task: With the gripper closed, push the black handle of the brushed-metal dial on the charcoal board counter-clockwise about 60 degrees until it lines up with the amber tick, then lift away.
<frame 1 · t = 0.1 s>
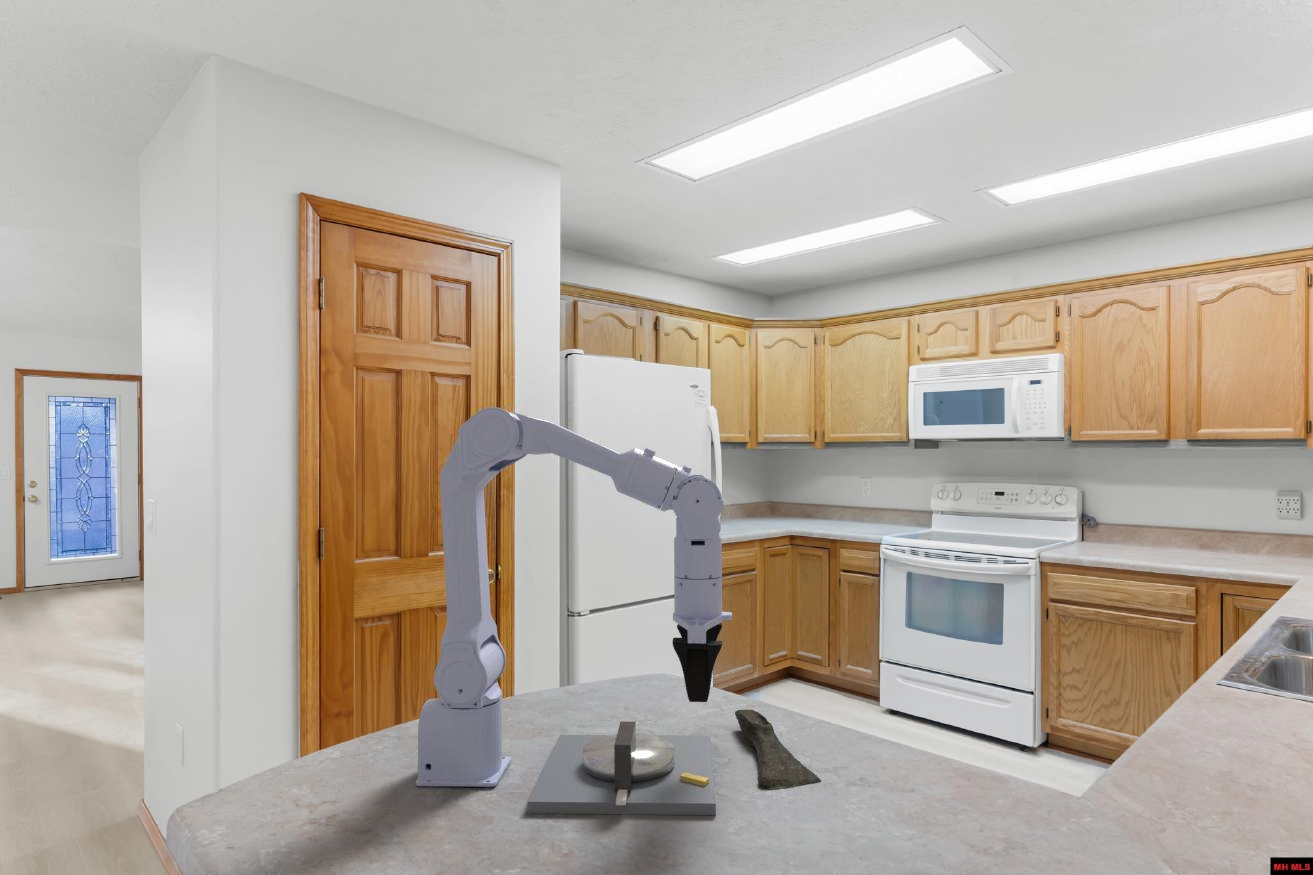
hand: (699, 691, 89), 10 cm above the worktop, fingers open, 7 cm apart
dial: (627, 745, 88), point 4 cm above the worktop, hinge at 0.0°, touching board
board: (628, 775, 89), on the worktop
tool: (774, 758, 95), on the worktop
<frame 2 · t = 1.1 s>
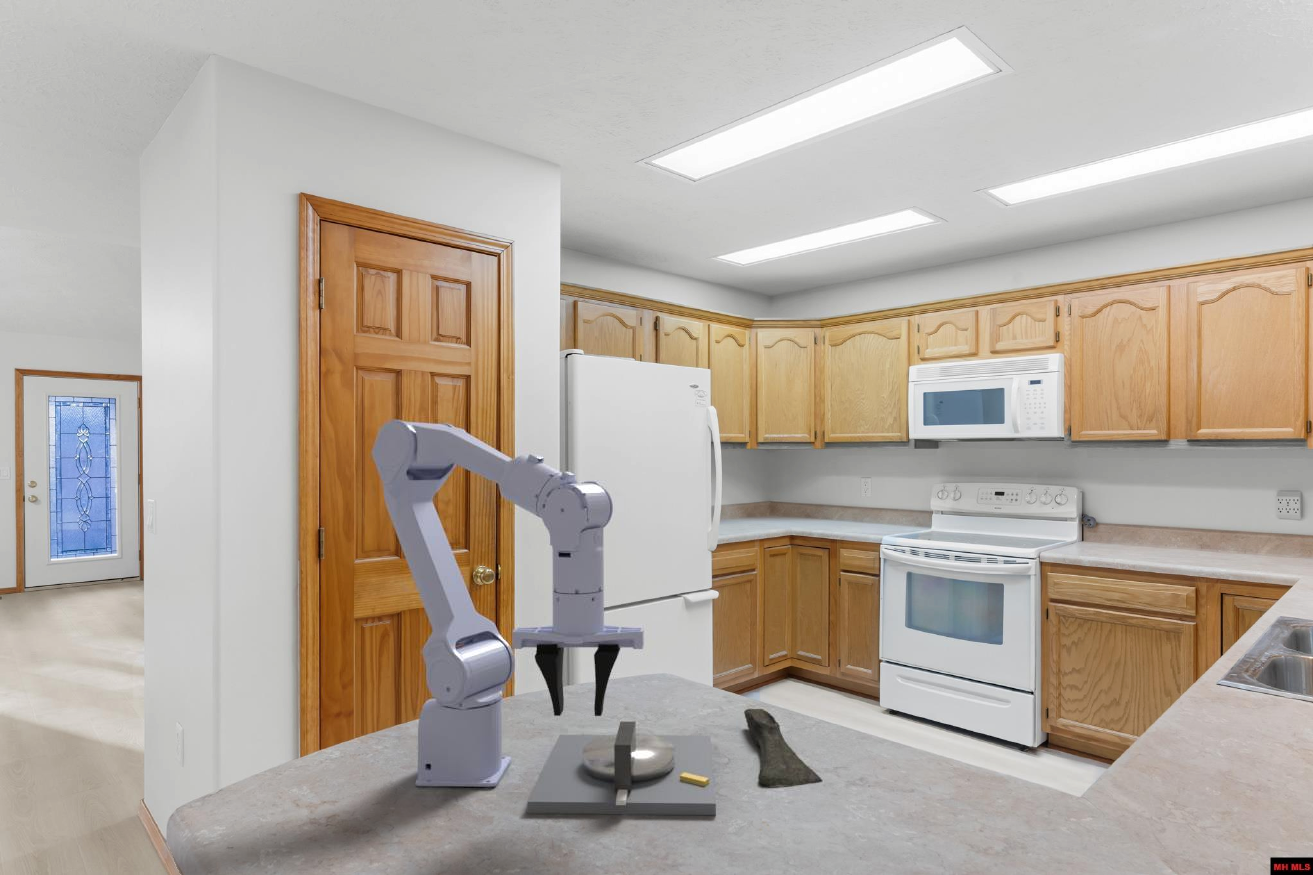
hand: (578, 713, 83), 9 cm above the worktop, fingers open, 4 cm apart
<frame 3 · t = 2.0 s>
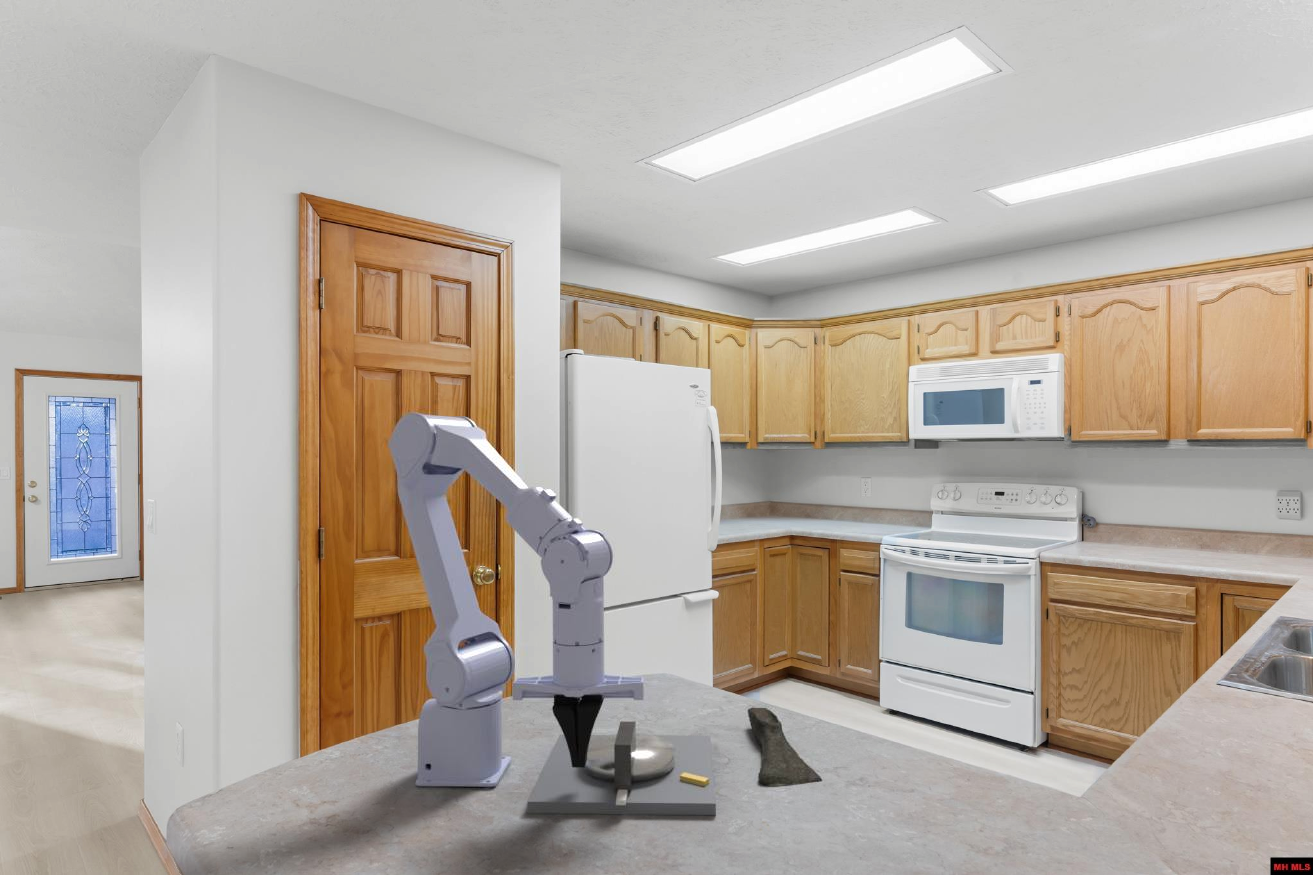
hand: (579, 763, 83), 4 cm above the worktop, fingers closed
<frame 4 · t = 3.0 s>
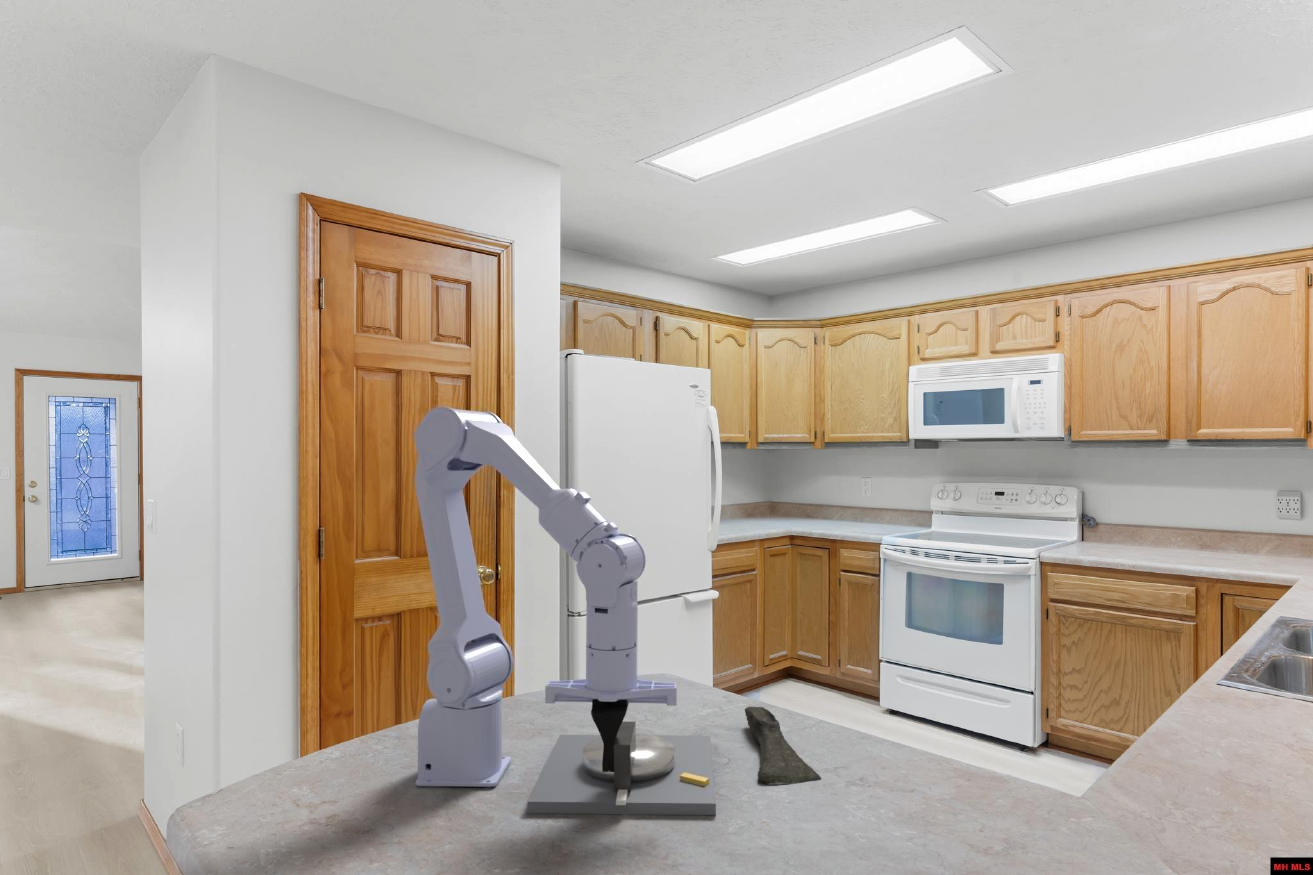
hand: (611, 768, 83), 3 cm above the worktop, fingers closed, pressing on dial
dial: (627, 745, 88), point 4 cm above the worktop, hinge at -0.3°, touching board, gripper
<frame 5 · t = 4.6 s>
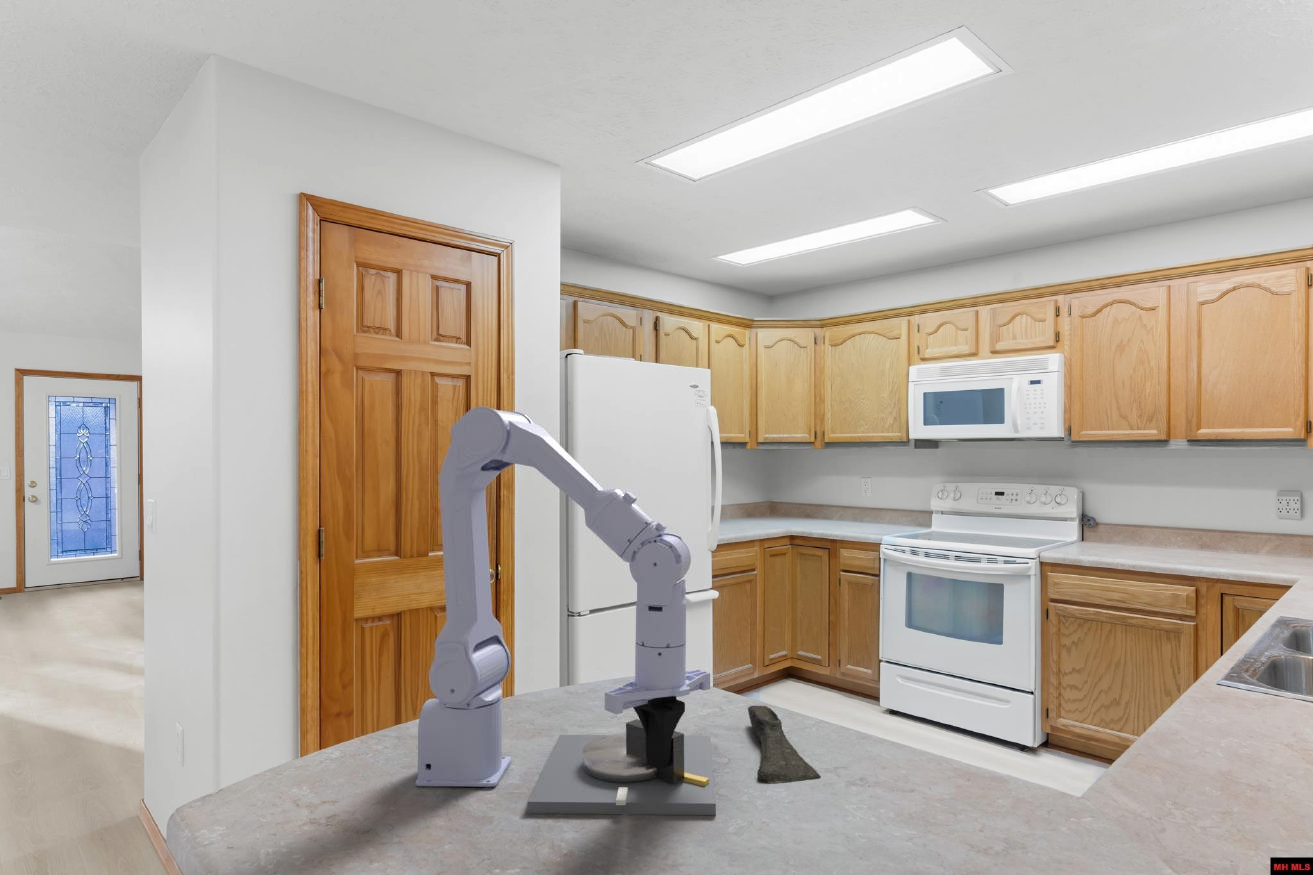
hand: (659, 764, 84), 3 cm above the worktop, fingers closed, pressing on dial
dial: (636, 743, 88), point 4 cm above the worktop, hinge at 49.5°, touching board, gripper
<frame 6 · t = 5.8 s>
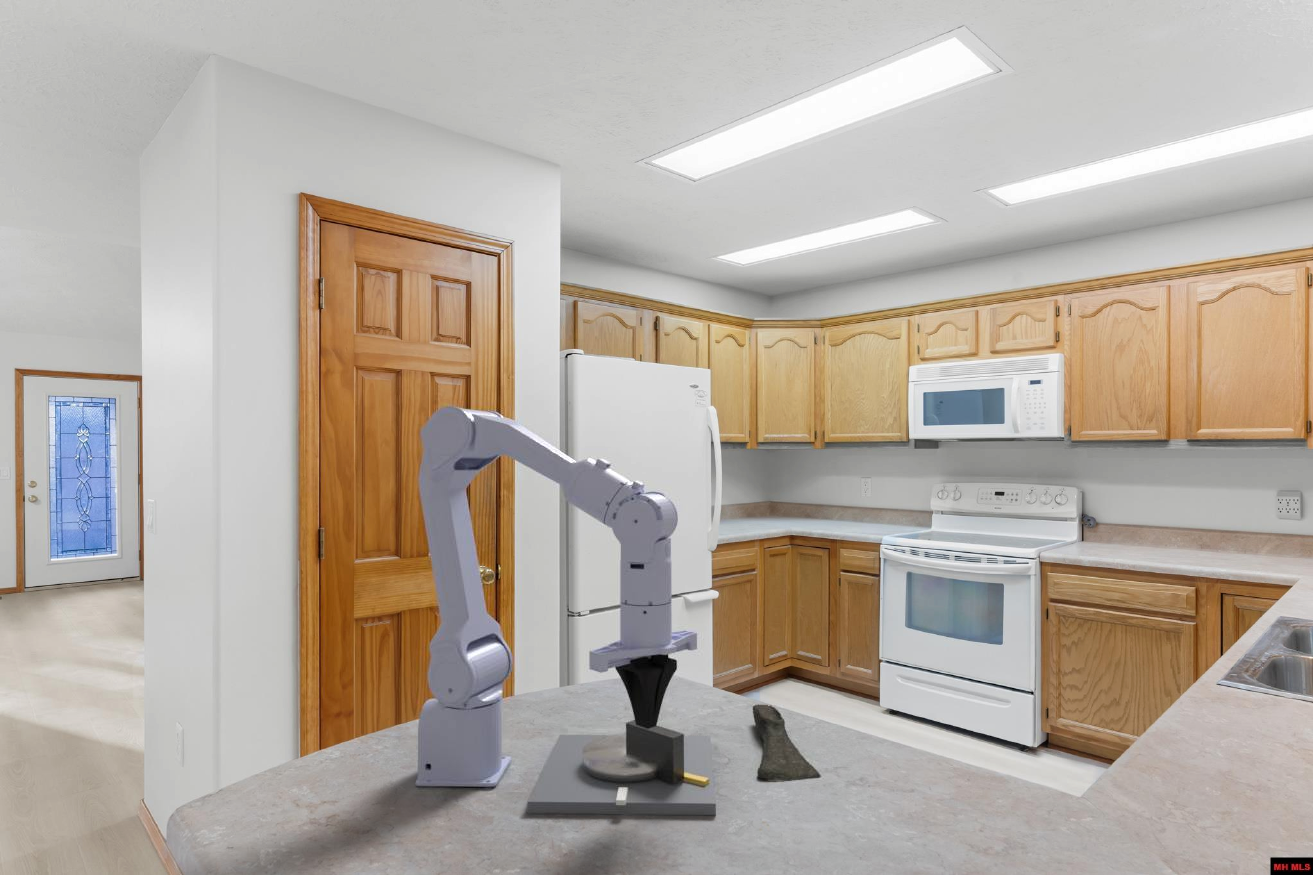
hand: (646, 725, 83), 8 cm above the worktop, fingers closed
dial: (635, 743, 88), point 4 cm above the worktop, hinge at 49.3°, touching board
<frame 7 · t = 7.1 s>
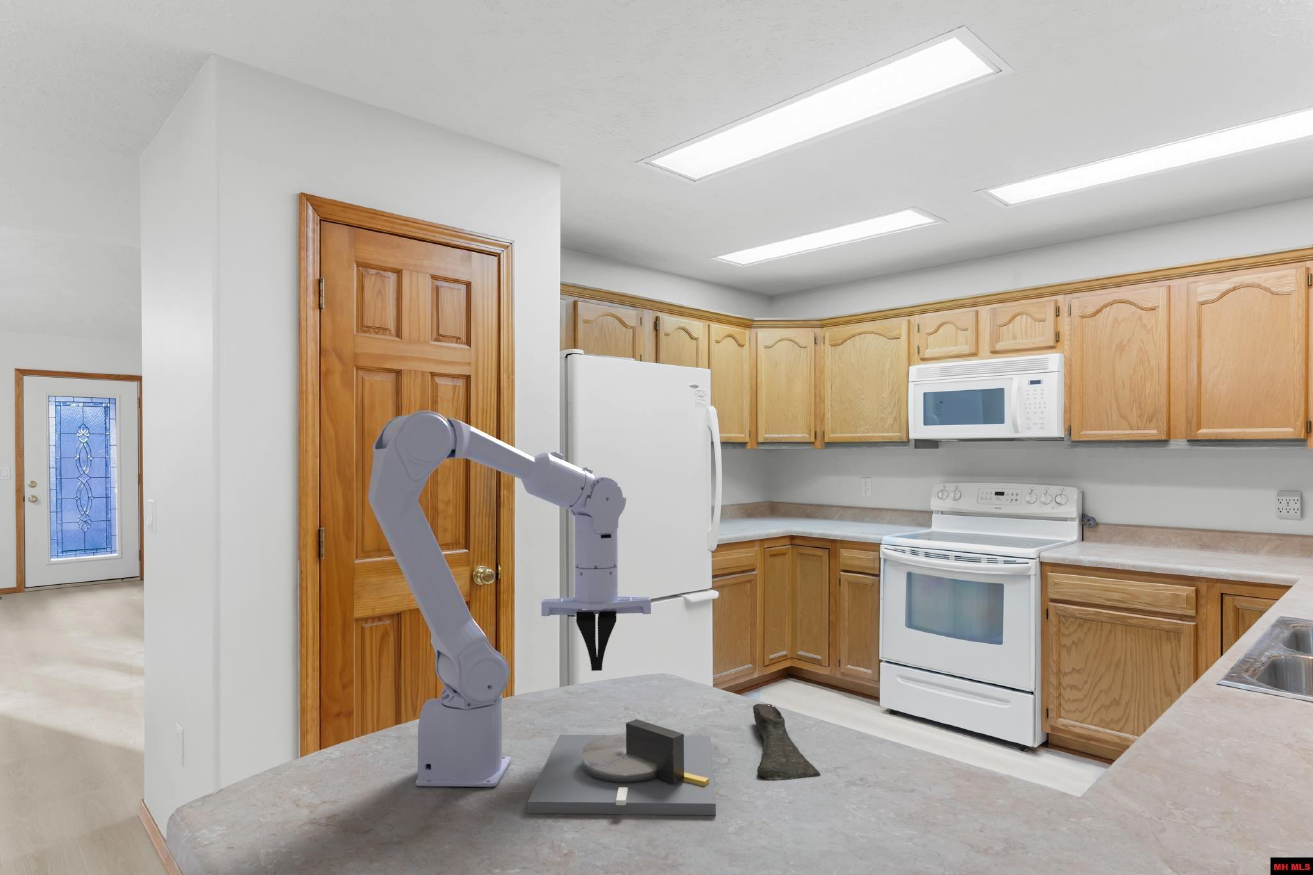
hand: (596, 668, 100), 10 cm above the worktop, fingers closed
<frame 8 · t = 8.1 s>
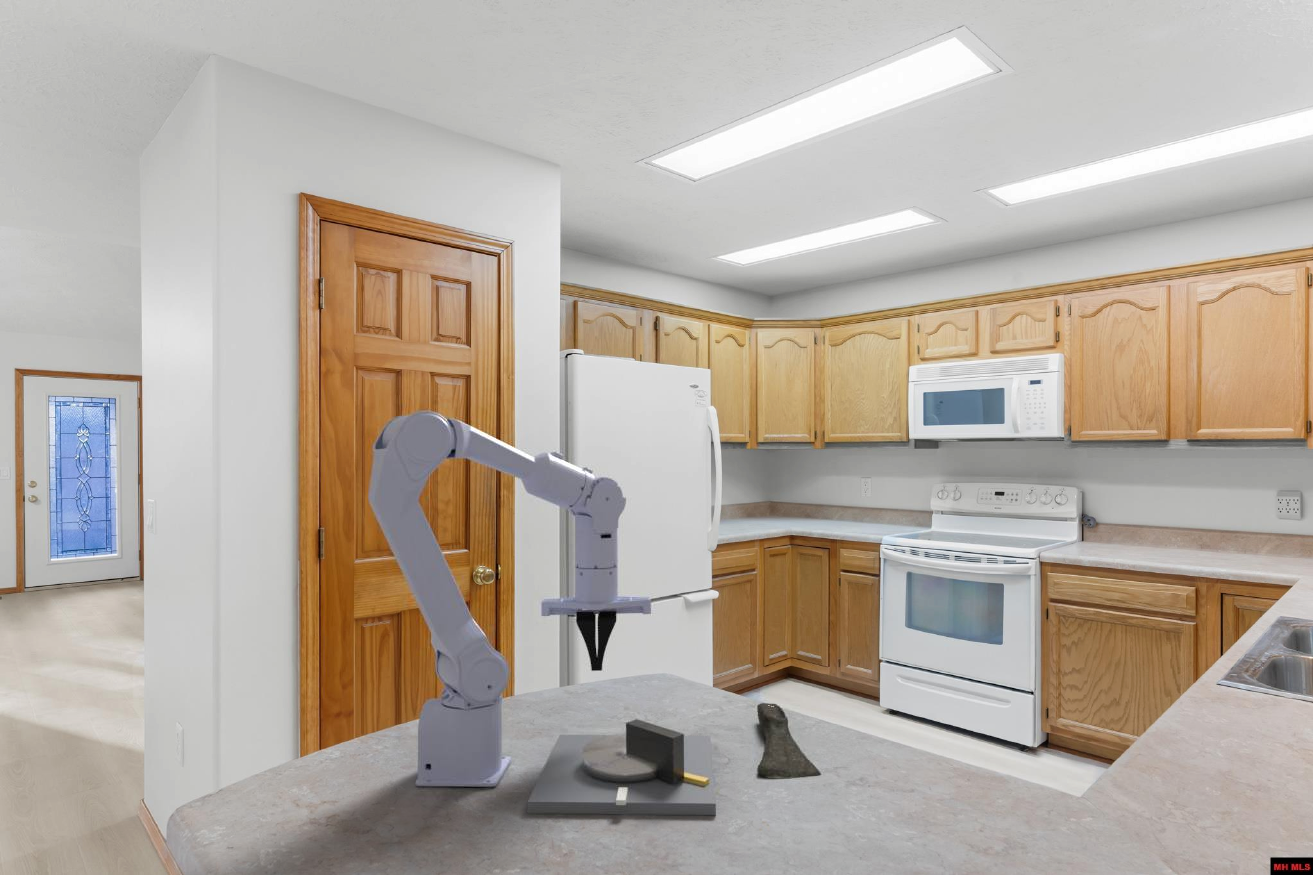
hand: (596, 668, 100), 10 cm above the worktop, fingers closed
at the end: dial at +49° (first picture: +0°) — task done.
